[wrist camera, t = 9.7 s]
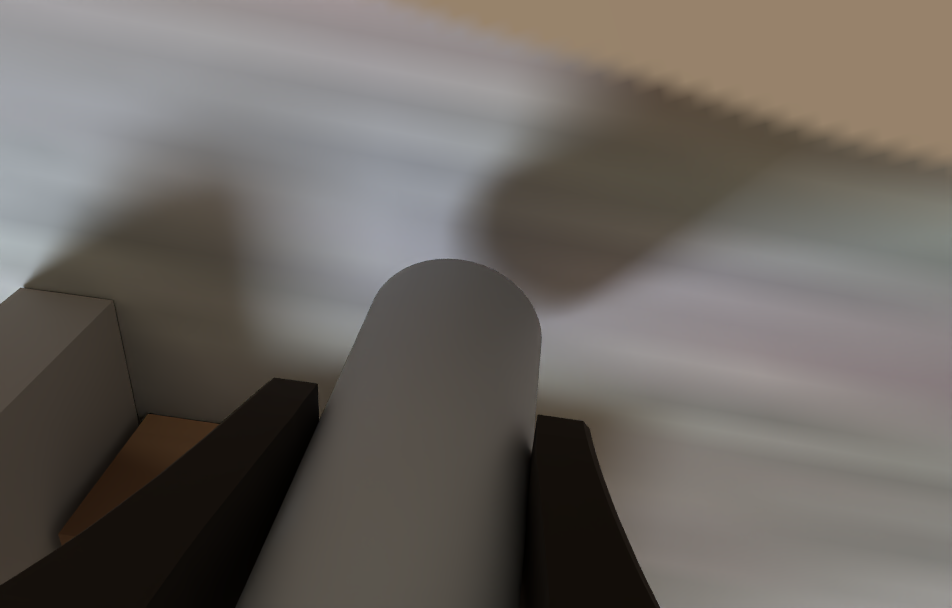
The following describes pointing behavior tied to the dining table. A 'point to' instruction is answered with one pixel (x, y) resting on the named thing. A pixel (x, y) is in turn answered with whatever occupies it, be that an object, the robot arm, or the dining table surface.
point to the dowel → (416, 455)
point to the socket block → (136, 466)
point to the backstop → (56, 415)
